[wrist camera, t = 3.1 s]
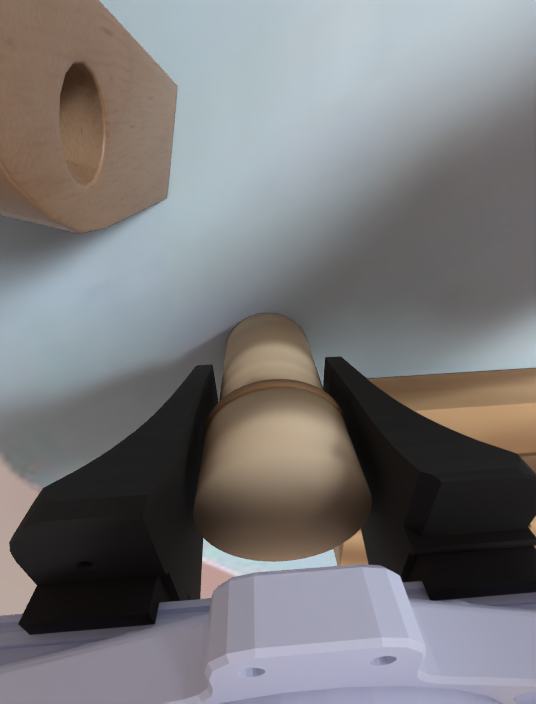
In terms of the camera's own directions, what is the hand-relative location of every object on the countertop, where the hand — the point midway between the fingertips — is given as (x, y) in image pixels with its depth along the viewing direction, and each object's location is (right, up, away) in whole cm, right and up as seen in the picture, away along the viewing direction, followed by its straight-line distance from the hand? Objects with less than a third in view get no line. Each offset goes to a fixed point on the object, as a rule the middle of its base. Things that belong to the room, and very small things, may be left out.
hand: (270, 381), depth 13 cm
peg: (0, +1, +2) cm, 2 cm away
